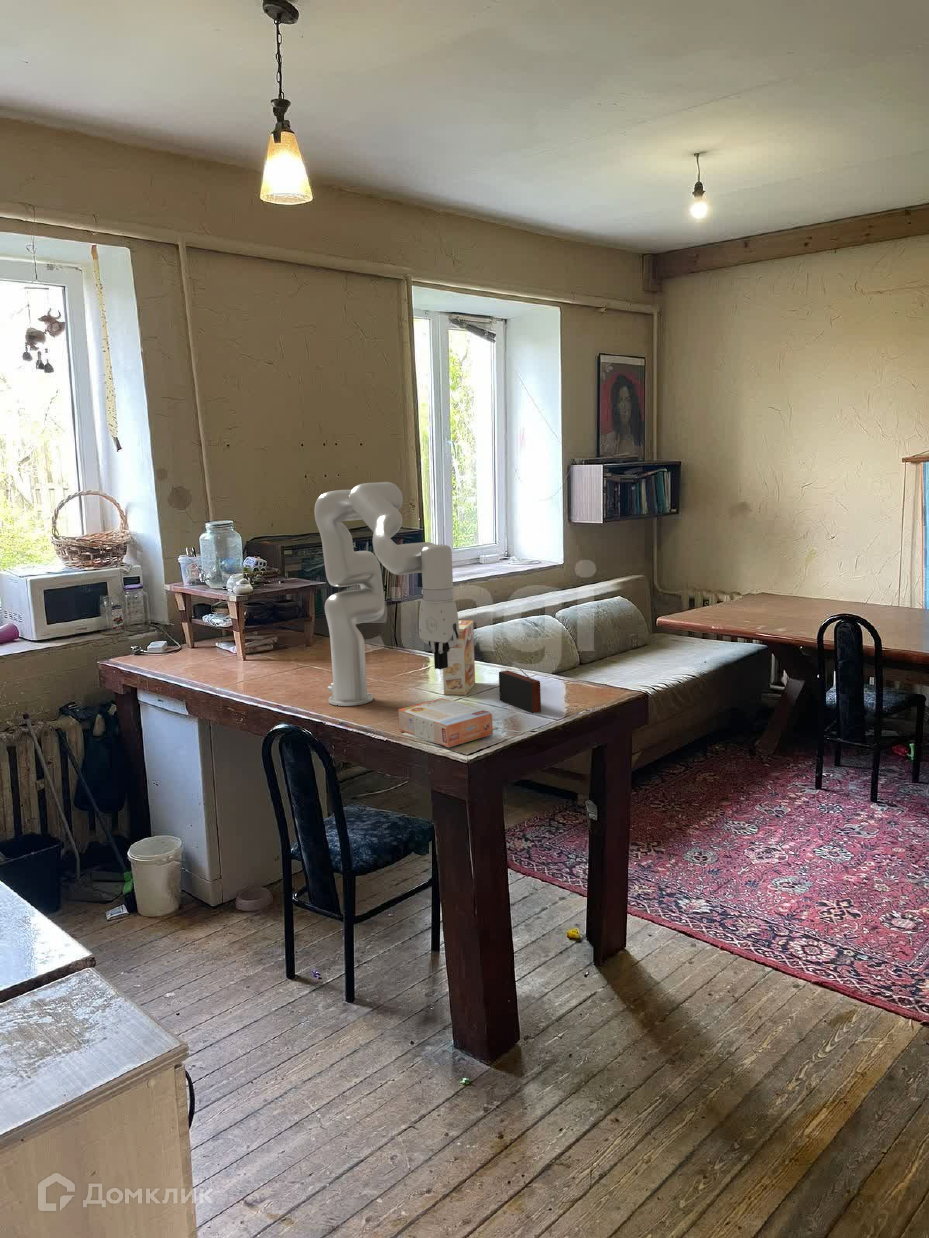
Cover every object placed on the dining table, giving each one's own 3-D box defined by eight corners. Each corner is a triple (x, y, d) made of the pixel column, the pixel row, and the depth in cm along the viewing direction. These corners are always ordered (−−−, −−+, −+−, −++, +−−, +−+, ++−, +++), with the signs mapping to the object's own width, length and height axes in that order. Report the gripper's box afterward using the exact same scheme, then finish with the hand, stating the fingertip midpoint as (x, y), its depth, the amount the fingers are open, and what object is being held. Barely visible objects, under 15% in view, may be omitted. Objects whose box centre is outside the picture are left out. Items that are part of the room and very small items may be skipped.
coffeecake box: (466, 695, 264) (464, 629, 260) (442, 695, 265) (439, 629, 262) (476, 682, 278) (474, 619, 275) (453, 682, 280) (451, 619, 276)
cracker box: (398, 731, 231) (448, 748, 214) (397, 708, 230) (446, 724, 213) (443, 719, 239) (494, 735, 223) (441, 697, 238) (492, 711, 222)
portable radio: (542, 712, 244) (540, 657, 241) (532, 714, 242) (531, 658, 240) (505, 697, 260) (503, 646, 257) (495, 699, 258) (494, 647, 256)
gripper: (405, 595, 227) (409, 667, 230) (450, 599, 217) (453, 674, 220) (426, 591, 232) (430, 661, 235) (471, 595, 222) (473, 668, 225)
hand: (441, 667), depth 228 cm, fingers closed
